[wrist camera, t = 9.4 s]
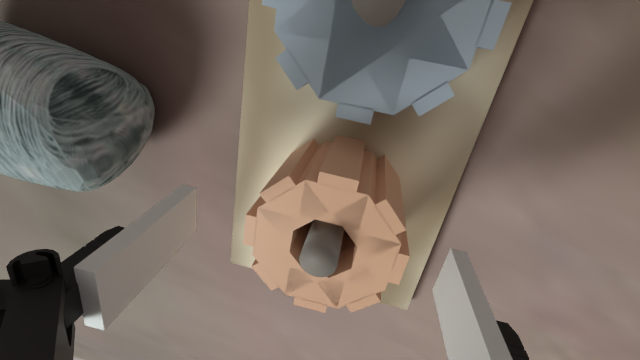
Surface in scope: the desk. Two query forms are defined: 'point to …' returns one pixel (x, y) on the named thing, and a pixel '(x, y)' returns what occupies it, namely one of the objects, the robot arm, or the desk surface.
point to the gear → (383, 51)
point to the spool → (67, 113)
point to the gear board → (363, 139)
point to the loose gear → (337, 208)
